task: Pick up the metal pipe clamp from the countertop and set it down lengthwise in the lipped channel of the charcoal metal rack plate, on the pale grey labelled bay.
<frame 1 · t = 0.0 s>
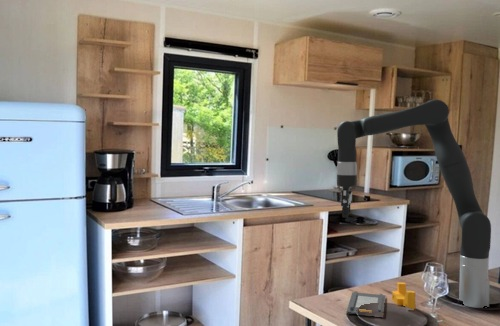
hand: (346, 216, 180), 29 cm above the table, tool pointing down, fingers open, 8 cm apart
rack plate: (367, 305, 165), on the table
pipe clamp: (403, 306, 166), on the table
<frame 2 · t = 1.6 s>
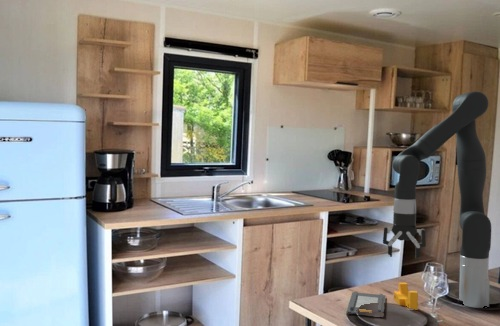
hand: (403, 257, 165), 17 cm above the table, tool pointing down, fingers open, 8 cm apart
nothing on the table moved.
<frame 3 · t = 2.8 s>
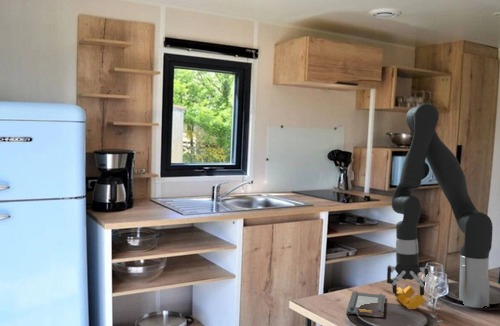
hand: (408, 295, 167), 3 cm above the table, tool pointing down
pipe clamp: (400, 302, 167), point 1 cm above the table, touching gripper
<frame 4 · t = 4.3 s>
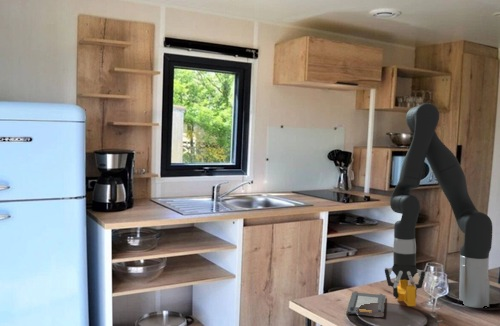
hand: (404, 298, 165), 2 cm above the table, tool pointing down, fingers closed on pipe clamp, 5 cm apart
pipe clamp: (404, 300, 165), point 1 cm above the table, touching gripper
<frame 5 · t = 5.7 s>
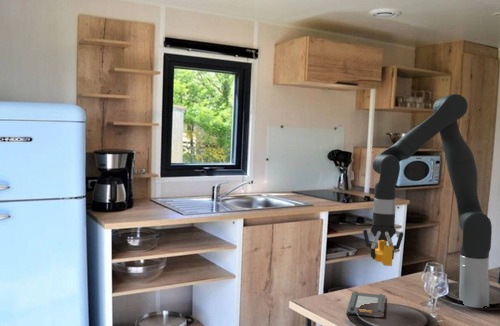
hand: (381, 259, 165), 16 cm above the table, tool pointing down, fingers closed on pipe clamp, 5 cm apart
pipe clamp: (382, 261, 165), point 15 cm above the table, touching gripper
when the fingers open (3 cm above the table, at t = 8.0 s): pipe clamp drops 1 cm, resting on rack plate.
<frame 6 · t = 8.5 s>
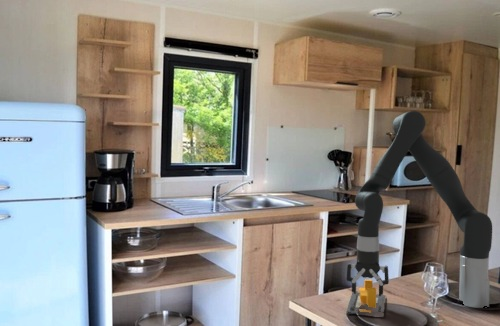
hand: (367, 294, 164), 4 cm above the table, tool pointing down, fingers open, 8 cm apart
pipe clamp: (367, 302, 165), point 1 cm above the table, touching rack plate
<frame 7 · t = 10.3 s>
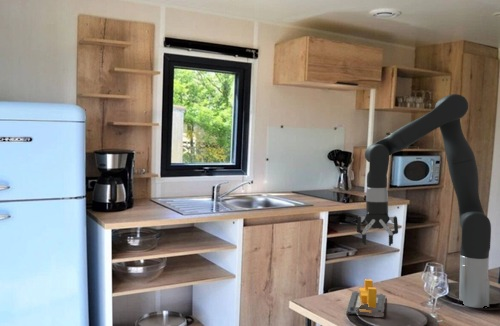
hand: (377, 245, 168), 21 cm above the table, tool pointing down, fingers open, 8 cm apart
nothing on the table moved.
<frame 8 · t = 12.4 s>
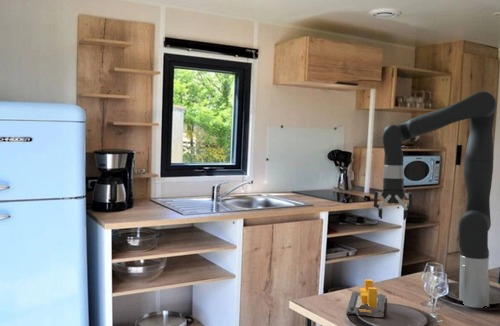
hand: (392, 219, 180), 28 cm above the table, tool pointing down, fingers open, 8 cm apart
nothing on the table moved.
at the end: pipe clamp 0.3 cm off-centre on the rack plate, point 1.0 cm above the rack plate's base; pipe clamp tilted 0°; the gripper is holding nothing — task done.
